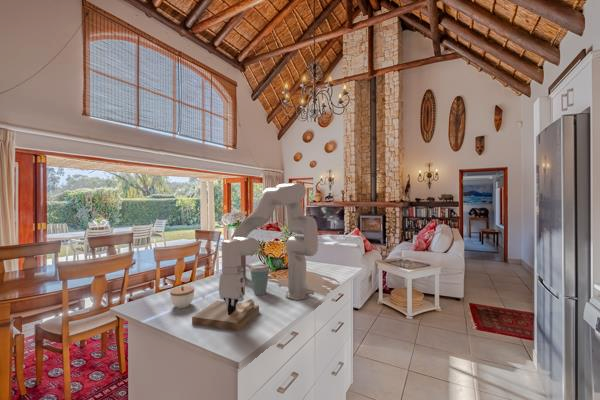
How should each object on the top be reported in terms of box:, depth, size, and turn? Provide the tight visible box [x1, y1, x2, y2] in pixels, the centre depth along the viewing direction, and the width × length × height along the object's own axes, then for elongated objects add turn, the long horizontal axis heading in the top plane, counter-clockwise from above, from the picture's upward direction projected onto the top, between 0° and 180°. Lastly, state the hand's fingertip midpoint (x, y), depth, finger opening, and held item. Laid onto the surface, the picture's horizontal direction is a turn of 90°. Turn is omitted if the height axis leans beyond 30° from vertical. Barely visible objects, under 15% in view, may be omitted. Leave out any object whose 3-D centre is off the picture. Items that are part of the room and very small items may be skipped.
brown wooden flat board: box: [191, 300, 260, 331], centre depth 119 cm, size 22×18×3 cm
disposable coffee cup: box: [250, 264, 271, 296], centre depth 149 cm, size 11×11×15 cm
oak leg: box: [229, 298, 255, 323], centre depth 115 cm, size 17×3×3 cm, turn 166°
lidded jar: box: [169, 285, 195, 309], centre depth 132 cm, size 11×11×9 cm
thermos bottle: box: [241, 256, 247, 280], centre depth 176 cm, size 8×8×28 cm
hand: (231, 313), depth 113 cm, fingers closed
